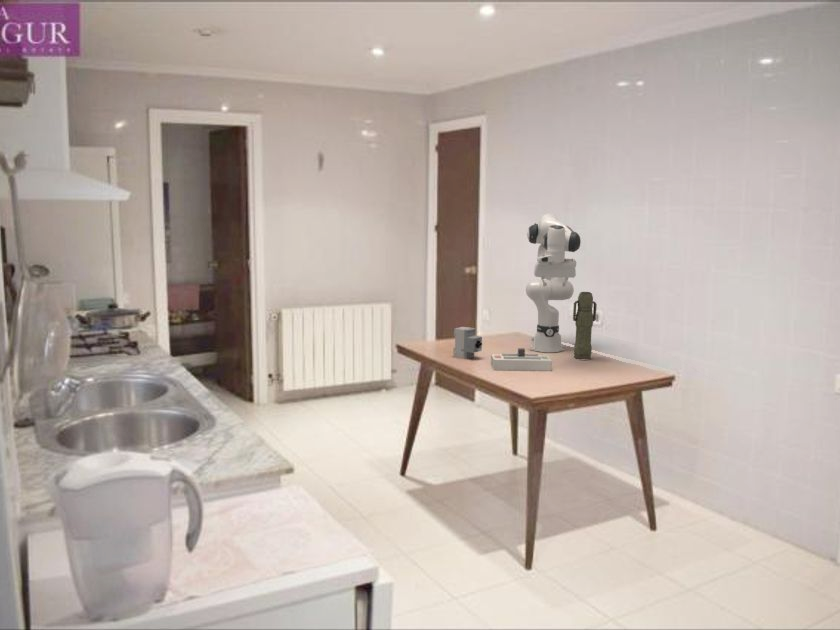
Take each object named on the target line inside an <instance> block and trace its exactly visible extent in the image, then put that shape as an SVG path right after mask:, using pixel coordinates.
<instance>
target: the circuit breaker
mask: <svg viewBox="0 0 840 630" xmlns="http://www.w3.org/2000/svg"><path fill="white" fill-rule="evenodd" d="M453 330H454V331H453V337H454V347H453V349H452V350H453V356H452V357H453V358H459V359H465V360H467V359H470V358H474V357H475V353H478V352H482V348H483V347H482V346H483V343H482V342H483V336H482V335H476V328H475V327H467V326H461V327H456V328H454V329H453Z"/></svg>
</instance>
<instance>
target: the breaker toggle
mask: <svg viewBox="0 0 840 630" xmlns="http://www.w3.org/2000/svg"><path fill="white" fill-rule="evenodd" d="M517 354H518V357H525V354H526V349H525V348H523V347H517Z"/></svg>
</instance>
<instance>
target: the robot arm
mask: <svg viewBox="0 0 840 630" xmlns="http://www.w3.org/2000/svg"><path fill="white" fill-rule="evenodd" d="M526 233H527V234H526V236H527V237H526V238H527V239H528V242H529V243H530V244H534V245H536V244H539V246H538V249H537V250H538V251H537V258H536V261H537V262H536V263H535V265H534V271H533V275H534V277H536V278H537V277H538V278H540V279H536V280H535V279H533V280H530V281H528V283H526V286H525V292H526V296H527V297H528V298H529V299H530V300H532V301H533V304H534V305H535V307H536V308H537V319H538V320H537V325H536V333H535V334H534V336H532V337H531V341H532V343H530V347H529V350H530V351H535V352H541V353H559V352H563V351H565V349H564V347H562V335H561V334H560V333H559V332H560V325H559V320H560V319H559V318H560V317H559V316H560V313H559V310H558V309H557V308H556V307H555V306H553V305H550V304H549V301H565V300H570V299H571V298H572V296H573V295H574V292H575V291H574V289H575V288H574V286H573V284H572V282H570V281H569V278H571V279H572V278H575V277H576V274H577V273H576V272H577V271H576V267H577V261H576V260H575V259H574V258H566V254H565V253H566V252H572V253H575V252H577V251H578V250H579V249H580V247H581V243H582V242H581V237H580V234H579V233H578V232H577V231H574V230H573V229H572V228H571V227H570V226H569V225H566V224H564V223H562V222H561V221H560V220H559V219H558V218H557V216H555V215H554V214H552V213H545V214H543V215H542V216H541V217H540V219H539V221H538V223H536V222H535V223H534V224H531V225H530V226H529V227H528V229H527V232H526Z"/></svg>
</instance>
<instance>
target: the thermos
mask: <svg viewBox="0 0 840 630" xmlns="http://www.w3.org/2000/svg"><path fill="white" fill-rule="evenodd" d="M572 320H573V321H574V322H575V343H574V345H573V359H574V358H575V359H574V360H577V359H590V360H591V359H592V357H591V356H592V349H593V346H592V331H593V330H592V329H593V326H594V322H595V321H596V320H597V303H596V301H594V296H593V293H591V291H581V292H579V295H578V297H577V300H575V301H574V303H573V310H572Z"/></svg>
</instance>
